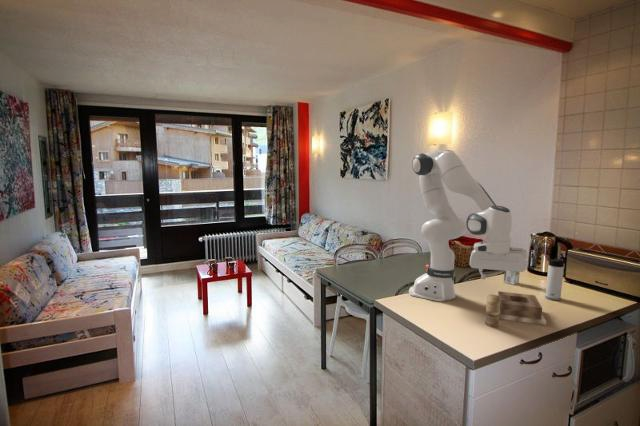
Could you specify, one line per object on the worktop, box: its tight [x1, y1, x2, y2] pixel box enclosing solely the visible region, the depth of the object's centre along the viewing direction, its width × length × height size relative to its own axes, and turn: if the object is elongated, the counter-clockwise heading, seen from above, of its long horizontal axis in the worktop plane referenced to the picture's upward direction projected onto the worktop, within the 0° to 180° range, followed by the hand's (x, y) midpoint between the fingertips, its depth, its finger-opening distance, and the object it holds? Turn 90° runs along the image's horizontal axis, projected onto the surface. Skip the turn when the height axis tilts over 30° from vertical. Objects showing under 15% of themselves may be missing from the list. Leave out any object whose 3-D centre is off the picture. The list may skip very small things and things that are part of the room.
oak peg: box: [484, 293, 501, 328], centre depth 151 cm, size 5×5×12 cm
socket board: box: [497, 290, 547, 326], centre depth 162 cm, size 18×18×6 cm
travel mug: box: [545, 258, 565, 302], centre depth 178 cm, size 6×7×20 cm
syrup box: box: [503, 271, 521, 286], centre depth 201 cm, size 6×6×14 cm
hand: (495, 280), depth 149 cm, fingers open, 8 cm apart
